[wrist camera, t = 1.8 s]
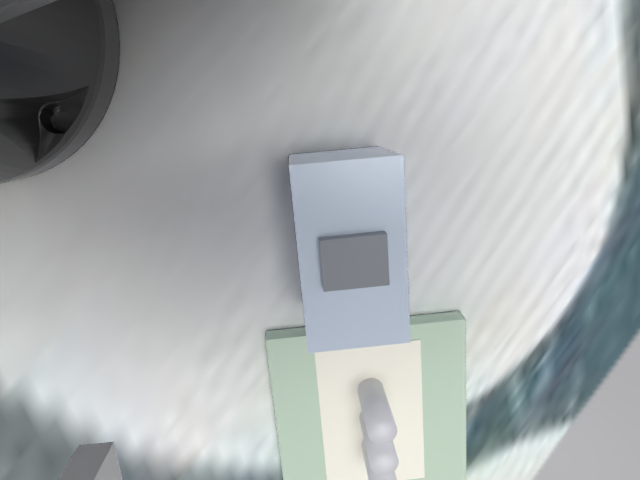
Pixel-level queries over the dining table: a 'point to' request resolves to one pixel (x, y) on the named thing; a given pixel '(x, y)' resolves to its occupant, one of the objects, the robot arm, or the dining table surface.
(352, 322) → the plug
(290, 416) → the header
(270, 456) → the dining table surface
